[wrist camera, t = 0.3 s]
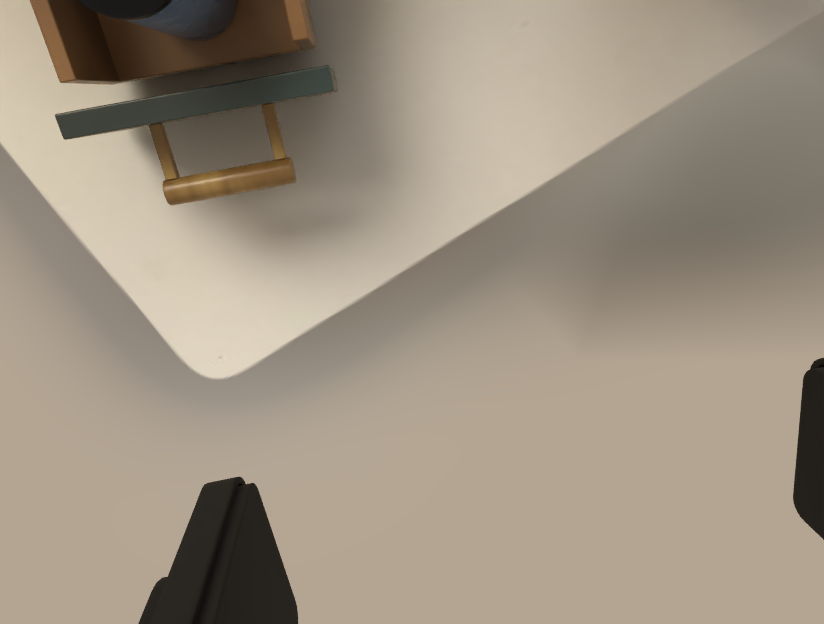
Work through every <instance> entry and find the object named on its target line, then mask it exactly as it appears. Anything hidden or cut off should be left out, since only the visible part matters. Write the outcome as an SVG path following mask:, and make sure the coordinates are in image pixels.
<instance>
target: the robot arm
mask: <svg viewBox="0 0 824 624" xmlns="http://www.w3.org/2000/svg"><path fill="white" fill-rule="evenodd" d="M793 500H794V505H795V508H796V510H797V512H798V514H799V515H800V517H801V518H802V519H803V520H804V521H805V522H806V523H807V524H808V525H809V526H810V527H811V528H812V529H813V530H814V531H815V532H816V533H817V534H819V535H820V536H821V537H822V538H823V539H824V358H821V359H818V360H816V361H814V363H813V364H812V366H811V369H810V370H808V371H807V372H806V373H805V375H804V378H803V388H802V400H801V412H800V423H799V435H798V447H797V459H796V469H795V481H794V493H793ZM139 624H298V613H297V605H296V601H295V598H294V595H293V592H292V589H291V586H290V583H289V580H288V577H287V575H286V571H285V568H284V566H283V562H282V559H281V556H280V553H279V551H278V548H277V544H276V541H275V538H274V536H273V532H272V529H271V527H270V524H269V521H268V518H267V515H266V512H265V509H264V506H263V503H262V500H261V497H260V494H259V491H258V488H257V486H256V485H255V484H254V483H250V484H245V481H244V480H243V479H242V478H241V477H235V478H230V479H225V480H220V481H215V482H211V483H207V484H205V485H204V486H203V488H202V490H201V492H200V495H199V498H198V500H197V503H196V505H195V508H194V511H193V513H192V516H191V519H190V521H189V523H188V526H187V529H186V531H185V534H184V536H183V539H182V541H181V544H180V547H179V549H178V552H177V554H176V557H175V559H174V562H173V565H172V567H171V570H170V572H169V575H168V577H164V578H162V579H160V580H159V581H158V582H157V583H156V585H155V586H154V588H153V590H152V592H151V594H150V597H149V599H148V602H147V604H146V606H145V609H144V611H143V614H142V616H141V619H140V622H139Z"/></svg>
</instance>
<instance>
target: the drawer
mask: <svg viewBox="0 0 824 624" xmlns="http://www.w3.org/2000/svg"><path fill="white" fill-rule="evenodd" d="M30 2H31V4H32V7H33V10H34V13H35V15H36V18H37V21H38V23H39V26H40V29H41V32H42V34H43V37H44V40H45V43H46V45H47V48H48V51H49V53H50V56H51V59H52V62H53V64H54V67H55V70H56V73H57V75H58V78H59V81H60V82H61V83H84V84H118V83H124V82H129V81H135V80H141V79H146V78H152V77H157V76H163V75H169V74H174V73H180V72H185V71H191V70H197V69H202V68H208V67H213V66H219V65H225V64H230V63H236V62H241V61H247V60H253V59H258V58H264V57H270V56H275V55H281V54H286V53H292V52H298V51H303V50H309V49H314V48H317V46H316V41H315V36H314V31H313V26H312V22H311V17H310V12H309V7H308V2H307V0H237V5H236V11H235V14H234V17H233V19H232V21H231V23H230V24H229V26H228V27H227V28H226V29H225V30H224V31H223V32H222V33H221V34H220V35H218V36H216V37H214V38H212V39H209V40H205V41H190V40H186V39H183V38H179V37H176V36H173V35H170V34H167V33H163V32H160V31H157V30H154V29H151V28H148V27H144V26H141V25H138V24H135V23H132V22H128V21H125V20H120V19H114V18H111V17H108V16H105V15H102V14H99V13H97V12H95V11H93V10H91V9H89V8H87V7H86V6H84V5H83V4H81V3H80V2H79V1H78V0H30ZM337 91H338V88H337V83H336V78H335V73H334V71H333V69H332V68H331V67H330V66H328V65H327V66H321V67H316V68H310V69H305V70H299V71H293V72H288V73H282V74H277V75H271V76H266V77H260V78H254V79H249V80H243V81H238V82H232V83H226V84H221V85H215V86H210V87H204V88H199V89H193V90H187V91H182V92H176V93H171V94H165V95H160V96H154V97H148V98H143V99H137V100H132V101H126V102H120V103H115V104H109V105H104V106H98V107H93V108H87V109H81V110H76V111H70V112H65V113H59V114H56V115H55V117H56V120H57V122H58V125H59V128H60V130H61V133H62V136H63V138H64V139H65V140H67V139H73V138H79V137H85V136H91V135H97V134H103V133H109V132H116V131H121V130H127V129H132V128H138V127H144V126H149V128H150V131H151V135H152V138H153V141H154V144H155V147H156V150H157V153H158V156H159V159H160V163H161V166H162V169H163V172H164V175H165V178H166V180H164V181H163V191H164V195H165V198H166V200H167V202H168V203H169V204H170V205H177V204H183V203H188V202H194V201H199V200H205V199H210V198H215V197H221V196H226V195H232V194H237V193H242V192H248V191H253V190H259V189H264V188H270V187H275V186H280V185H286V184H291V183H296V174H295V169H294V165H293V162H292V159H291V158H290V157H288V158H286V157H287V155H286V151H285V147H284V143H283V139H282V135H281V131H280V126H279V122H278V118H277V114H276V110H275V106H274V103H277V102H282V101H288V100H293V99H299V98H304V97H310V96H315V95H321V94H326V93H332V92H337ZM260 105H262V109H263V113H264V117H265V121H266V125H267V129H268V133H269V137H270V141H271V145H272V149H273V153H274V157H275V160H272V161H266V162H261V163H255V164H250V165H244V166H239V167H233V168H228V169H222V170H217V171H212V172H206V173H201V174H195V175H190V176H184V177H179V173H178V170H177V167H176V163H175V160H174V157H173V154H172V151H171V147H170V144H169V141H168V138H167V135H166V131H165V128H164V125H163V123H166V122H171V121H177V120H182V119H188V118H193V117H199V116H204V115H210V114H216V113H221V112H227V111H232V110H238V109H243V108H249V107H254V106H260ZM178 177H179V178H178Z"/></svg>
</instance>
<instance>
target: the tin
mask: <svg viewBox="0 0 824 624" xmlns="http://www.w3.org/2000/svg"><path fill="white" fill-rule="evenodd" d="M78 1H79V2H80V3H81V4H83V5H84V6H86V7H87V8H89V9H91V10H93V11H95V12H97V13H99V14H102V15H105V16H108V17H111V18H114V19H120V20H125V21H128V22H132V23H135V24H138V25H141V26H144V27H148V28H151V29H154V30H157V31H160V32H163V33H167V34H170V35H173V36H176V37H179V38H183V39H186V40H190V41H205V40H209V39H212V38H214V37H216V36H218V35H220V34H221V33H222V32H223V31H224V30H225V29H226V28H227V27H228V26H229V24H230V23H231V21H232V19H233V17H234V14H235V11H236V5H237V0H78Z"/></svg>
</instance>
